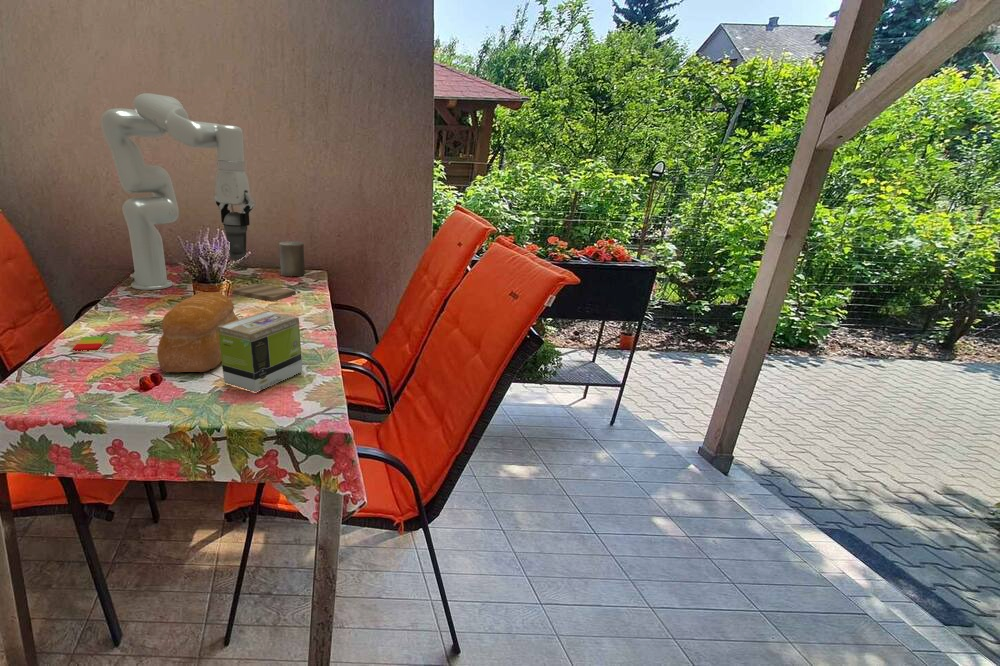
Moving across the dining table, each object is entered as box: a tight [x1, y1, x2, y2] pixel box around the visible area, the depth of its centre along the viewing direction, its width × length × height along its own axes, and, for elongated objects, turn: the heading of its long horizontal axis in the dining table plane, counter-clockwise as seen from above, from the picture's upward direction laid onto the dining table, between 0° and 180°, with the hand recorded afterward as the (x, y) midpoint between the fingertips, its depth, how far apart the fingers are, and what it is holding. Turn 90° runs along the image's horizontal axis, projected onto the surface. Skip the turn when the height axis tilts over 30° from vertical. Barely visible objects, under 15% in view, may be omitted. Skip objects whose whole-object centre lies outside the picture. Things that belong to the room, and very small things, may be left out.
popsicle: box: [72, 332, 109, 351], centre depth 139 cm, size 6×15×2 cm, turn 21°
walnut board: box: [231, 283, 297, 302], centre depth 195 cm, size 18×12×2 cm, turn 71°
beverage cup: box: [222, 204, 248, 262], centre depth 173 cm, size 7×7×20 cm
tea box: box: [218, 310, 303, 392], centre depth 124 cm, size 15×10×15 cm, turn 157°
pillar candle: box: [278, 239, 306, 278], centre depth 225 cm, size 10×10×15 cm
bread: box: [156, 292, 240, 373], centre depth 135 cm, size 14×26×15 cm, turn 9°
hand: (235, 223), depth 172 cm, fingers closed on beverage cup, 7 cm apart
